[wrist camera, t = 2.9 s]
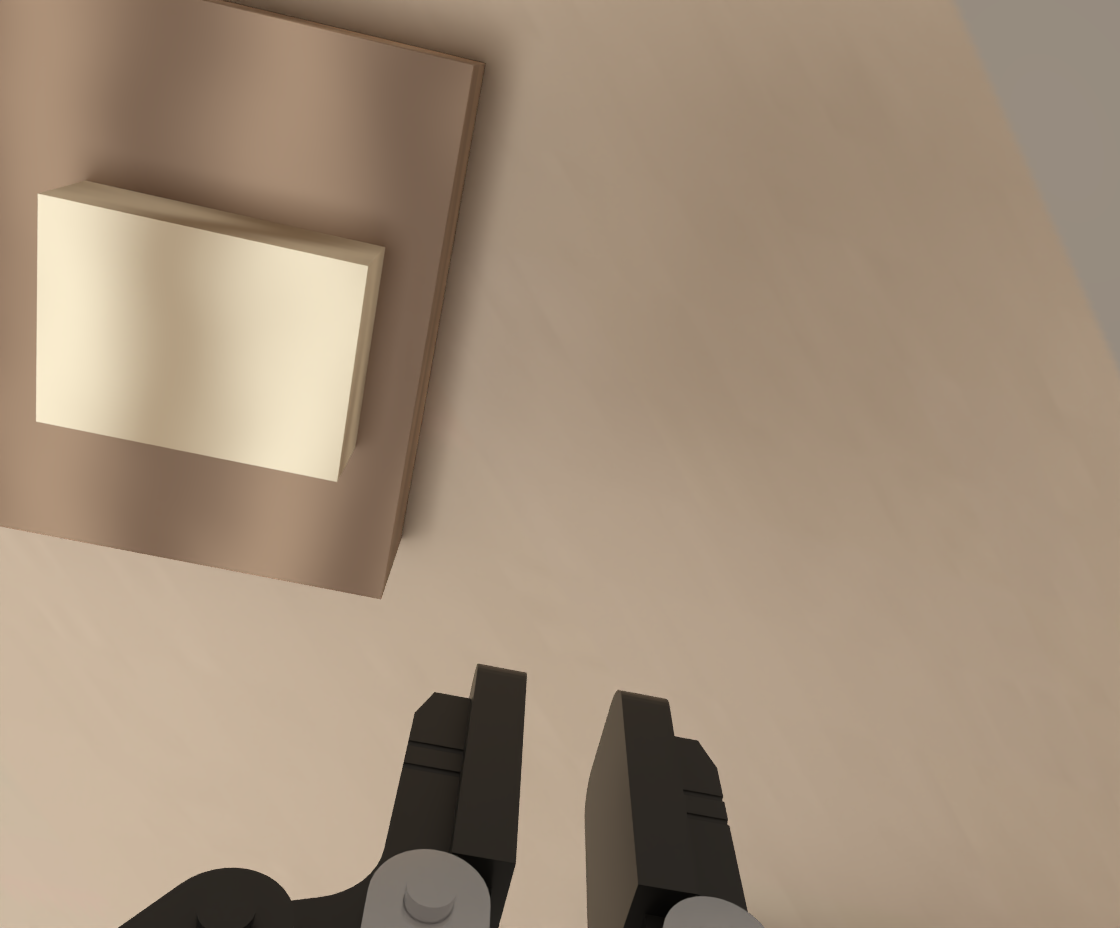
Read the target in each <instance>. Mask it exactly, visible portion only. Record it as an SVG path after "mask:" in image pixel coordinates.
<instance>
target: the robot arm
mask: <svg viewBox="0 0 1120 928" xmlns="http://www.w3.org/2000/svg"><path fill="white" fill-rule="evenodd" d="M526 681H527V674H526V673H525V672H520V671H514V670H509V669H504V668H498V667H493V666H488V665H482V664H477V667H476V670H475V674H474V679H473V683H472V688H471V692H470V696H469V698H464V697H458V696H453V695H447V694H442V693H436V692H434V693H433V694H432V696H431V697H430V698H429V699H428V700H427V701H426V702H425V703H424V704H423V705H422V706H421V707H420V708H419V709H418V710H417V711H416V712H415V714H414V719H413V723H412V728H411V732H410V737H409V741H408V746H407V750H406V755H405V759H404V764H403V768H402V772H401V777H400V781H399V786H398V790H397V795H396V799H395V804H394V808H393V812H392V817H391V821H390V826H389V830H388V835H387V839H386V844H385V848H384V851H383V854H382V857H381V859H380V861H379V863H378V865H377V866H376V868H375V869H374V870H373V871H372V872H371V874H370V875H368V876H367V877H366V878H365V879H364V880H363V881H361V882H360V883H358V884H357V885H355V886H354V887H351V888H349V889H347V890H345V891H343V892H340V893H337V894H333V895H329V896H324V897H318V898H310V899H301V900H293V901H291V900H290V898H289V896H288V894H287V893H286V891H285V890H284V889H283V888H282V887H281V886H280V885H279V884H278V883H277V882H276V881H274V880H273V879H271V878H270V877H268V876H266V875H264V874H262V873H259V872H256V871H253V870H249V869H242V868H222V869H215V870H211V871H207V872H204V873H201V874H198V875H196V876H194V877H191V878H190V879H188V880H186V881H185V882H183V883H181V884H180V885H178V886H177V887H176V888H174V889H173V890H171V891H170V892H168V893H167V894H166V895H164V896H163V897H161V898H160V899H158V900H157V901H156V902H154V903H153V904H151V905H150V906H148V907H147V908H146V909H144V910H143V911H141V912H140V913H139V914H137V915H136V916H134V917H133V918H131V919H130V920H129V921H127V922H126V923H124V924H123V925H121V926H120V927H119V928H498V927H499V923H500V919H501V916H502V912H503V908H504V905H505V901H506V897H507V893H508V890H509V886H510V882H511V879H512V875H513V871H514V868H515V864H516V850H517V833H518V816H519V799H520V782H521V765H522V749H523V732H524V715H525V698H526ZM722 798H723V794H722V789H721V785H720V780H719V775H718V771H717V767H716V766H715V765H714V763H713V762H712V760H711V759H710V757H709V756H708V755H707V753H706V752H705V750H704V749H703V747H702V746H701V745H700V743H699V742H698V741H697V740H691V739H686V738H680V737H675V736H674V731H673V724H672V718H671V712H670V706H669V702H668V700H667V699H663V698H658V697H653V696H647V695H642V694H637V693H631V692H626V691H621V690H617V691H616V693H615V695H614V697H613V700H612V703H611V706H610V709H609V713H608V716H607V719H606V723H605V726H604V729H603V733H602V736H601V739H600V743H599V746H598V750H597V753H596V756H595V760H594V763H593V766H592V770H591V773H590V778H589V782H588V788H587V794H586V803H585V845H586V882H587V918H588V928H764V927H763V925H762V924H761V923H760V922H759V921H758V920H757V919H756V918H754V917H753V916H752V915H751V914H749V913H748V911H747V907H746V902H745V897H744V893H743V888H742V883H741V879H740V874H739V869H738V864H737V860H736V855H735V850H734V846H733V841H732V836H731V832H730V827H729V825H727V821H728V818H727V813H726V808H725V803H724V802H722Z"/></svg>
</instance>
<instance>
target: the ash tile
mask: <svg viewBox="0 0 1120 928" xmlns="http://www.w3.org/2000/svg"><path fill="white" fill-rule="evenodd" d="M384 253H385V247H382V246H378V245H373V244H369V243H364V242H360V241H355V240H351V239H346V238H342V237H337V236H333V235H328V234H324V233H319V232H315V231H310V230H306V229H301V228H297V227H292V226H288V225H283V224H279V223H274V222H270V221H265V220H261V219H256V218H252V217H247V216H243V215H238V214H234V213H229V212H225V211H220V210H216V209H211V208H207V207H202V206H198V205H193V204H189V203H184V202H180V201H175V200H171V199H166V198H162V197H157V196H153V195H148V194H144V193H139V192H135V191H130V190H126V189H121V188H117V187H112V186H108V185H103V184H99V183H94V182H90V181H82V182H78V183H74V184H71V185H67V186H63V187H60V188H56V189H52V190H49V191H45V192H41V193H38V230H37V357H36V422H41V423H46V424H51V425H56V426H61V427H66V428H71V429H76V430H81V431H86V432H91V433H96V434H101V435H106V436H111V437H116V438H121V439H126V440H131V441H136V442H141V443H146V444H151V445H156V446H161V447H165V448H170V449H175V450H180V451H185V452H190V453H195V454H200V455H205V456H210V457H215V458H220V459H225V460H230V461H235V462H240V463H245V464H250V465H255V466H260V467H265V468H270V469H275V470H280V471H285V472H290V473H295V474H300V475H305V476H310V477H315V478H320V479H325V480H330V481H335V482H337V481H338V479H339V477H340V475H341V474H342V472H343V470H344V468H345V466H346V464H347V462H348V460H349V458H350V456H351V454H352V453H353V451H354V449H355V446H356V440H357V433H358V426H359V420H360V413H361V406H362V400H363V393H364V386H365V380H366V373H367V366H368V360H369V353H370V346H371V340H372V333H373V326H374V320H375V313H376V306H377V300H378V293H379V286H380V280H381V273H382V266H383V260H384Z"/></svg>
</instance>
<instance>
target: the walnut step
mask: <svg viewBox="0 0 1120 928" xmlns="http://www.w3.org/2000/svg"><path fill="white" fill-rule="evenodd" d="M484 68H485V63H482V62H478V61H474V60H470V59H466V58H462V57H457V56H453V55H449V54H445V53H441V52H437V51H432V50H428V49H424V48H420V47H416V46H412V45H407V44H403V43H399V42H395V41H391V40H387V39H382V38H378V37H374V36H370V35H366V34H362V33H357V32H353V31H349V30H345V29H341V28H337V27H332V26H328V25H324V24H320V23H316V22H312V21H307V20H303V19H299V18H295V17H291V16H287V15H282V14H278V13H274V12H270V11H266V10H262V9H258V8H253V7H249V6H245V5H241V4H237V3H233V2H228V1H224V0H0V526H1V527H6V528H12V529H17V530H22V531H27V532H32V533H38V534H43V535H48V536H53V537H59V538H64V539H69V540H74V541H80V542H85V543H90V544H95V545H100V546H106V547H111V548H116V549H121V550H127V551H132V552H137V553H142V554H147V555H153V556H158V557H163V558H168V559H174V560H179V561H184V562H189V563H194V564H200V565H205V566H210V567H215V568H221V569H226V570H231V571H236V572H241V573H247V574H252V575H257V576H262V577H268V578H273V579H278V580H283V581H289V582H294V583H299V584H304V585H309V586H315V587H320V588H325V589H330V590H336V591H341V592H346V593H351V594H356V595H362V596H367V597H372V598H377V599H381V598H382V595H383V592H384V589H385V586H386V583H387V580H388V577H389V574H390V571H391V568H392V565H393V562H394V559H395V556H396V553H397V550H398V547H399V544H400V541H401V536H402V530H403V524H404V519H405V513H406V507H407V502H408V496H409V491H410V485H411V479H412V474H413V468H414V462H415V457H416V451H417V446H418V440H419V434H420V429H421V423H422V417H423V412H424V406H425V401H426V395H427V389H428V384H429V378H430V372H431V367H432V361H433V356H434V350H435V344H436V339H437V333H438V327H439V322H440V316H441V310H442V305H443V299H444V294H445V288H446V282H447V277H448V271H449V265H450V260H451V254H452V249H453V243H454V237H455V232H456V226H457V220H458V215H459V209H460V204H461V198H462V192H463V187H464V181H465V175H466V170H467V164H468V159H469V153H470V147H471V142H472V136H473V130H474V125H475V119H476V114H477V108H478V102H479V97H480V91H481V85H482V80H483V74H484ZM82 181H90V182H94V183H99V184H103V185H108V186H112V187H117V188H121V189H126V190H130V191H135V192H139V193H144V194H148V195H153V196H157V197H162V198H166V199H171V200H175V201H180V202H184V203H189V204H193V205H198V206H202V207H207V208H211V209H216V210H220V211H225V212H229V213H234V214H238V215H243V216H247V217H252V218H256V219H261V220H265V221H270V222H274V223H279V224H283V225H288V226H292V227H297V228H301V229H306V230H310V231H315V232H319V233H324V234H328V235H333V236H337V237H342V238H346V239H351V240H355V241H360V242H364V243H369V244H373V245H378V246H382V247H385V253H384V260H383V266H382V273H381V280H380V286H379V293H378V300H377V306H376V313H375V320H374V326H373V333H372V340H371V346H370V353H369V360H368V366H367V373H366V380H365V386H364V393H363V400H362V406H361V413H360V420H359V426H358V433H357V440H356V446H355V449H354V451H353V453H352V454H351V456H350V458H349V460H348V462H347V464H346V466H345V468H344V470H343V472H342V474H341V475H340V477H339V479H338V481H337V482H335V481H330V480H325V479H320V478H315V477H310V476H305V475H300V474H295V473H290V472H285V471H280V470H275V469H270V468H265V467H260V466H255V465H250V464H245V463H240V462H235V461H230V460H225V459H220V458H215V457H210V456H205V455H200V454H195V453H190V452H185V451H180V450H175V449H170V448H165V447H161V446H156V445H151V444H146V443H141V442H136V441H131V440H126V439H121V438H116V437H111V436H106V435H101V434H96V433H91V432H86V431H81V430H76V429H71V428H66V427H61V426H56V425H51V424H46V423H41V422H36V357H37V230H38V193H41V192H45V191H49V190H52V189H56V188H60V187H63V186H67V185H71V184H74V183H78V182H82Z"/></svg>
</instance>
